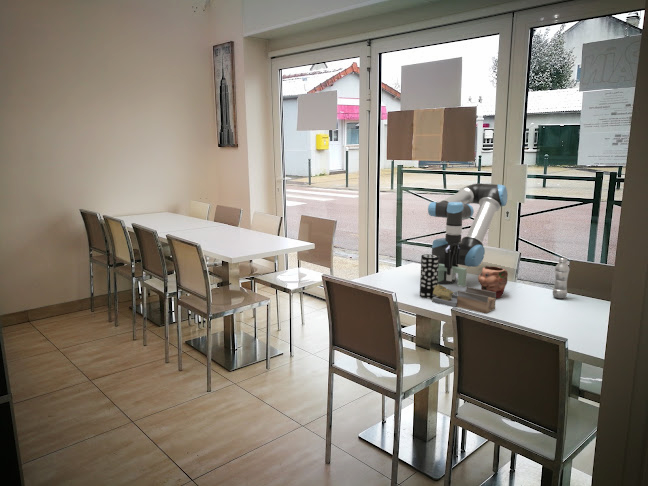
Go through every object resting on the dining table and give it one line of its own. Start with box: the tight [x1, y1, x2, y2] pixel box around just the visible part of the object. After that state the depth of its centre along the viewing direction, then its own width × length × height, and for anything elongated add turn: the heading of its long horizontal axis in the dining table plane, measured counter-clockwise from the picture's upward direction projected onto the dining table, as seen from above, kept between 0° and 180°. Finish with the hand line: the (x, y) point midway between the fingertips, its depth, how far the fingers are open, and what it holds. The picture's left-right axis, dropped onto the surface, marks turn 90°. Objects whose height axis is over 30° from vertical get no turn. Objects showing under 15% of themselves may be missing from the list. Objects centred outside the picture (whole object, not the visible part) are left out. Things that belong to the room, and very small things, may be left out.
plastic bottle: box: [552, 256, 570, 300], centre depth 248 cm, size 6×7×20 cm
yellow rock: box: [433, 284, 447, 297], centre depth 245 cm, size 4×4×4 cm
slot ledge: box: [456, 286, 497, 314], centre depth 234 cm, size 10×14×8 cm
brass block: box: [440, 288, 454, 301], centre depth 243 cm, size 4×4×4 cm
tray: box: [431, 293, 458, 308], centre depth 243 cm, size 12×12×2 cm
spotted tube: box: [419, 253, 439, 300], centre depth 249 cm, size 8×8×20 cm
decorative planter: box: [477, 265, 509, 299], centre depth 252 cm, size 20×12×14 cm, turn 130°
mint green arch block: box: [438, 264, 468, 287], centre depth 256 cm, size 6×15×8 cm, turn 49°
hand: (450, 280), depth 256 cm, fingers closed on mint green arch block, 3 cm apart
